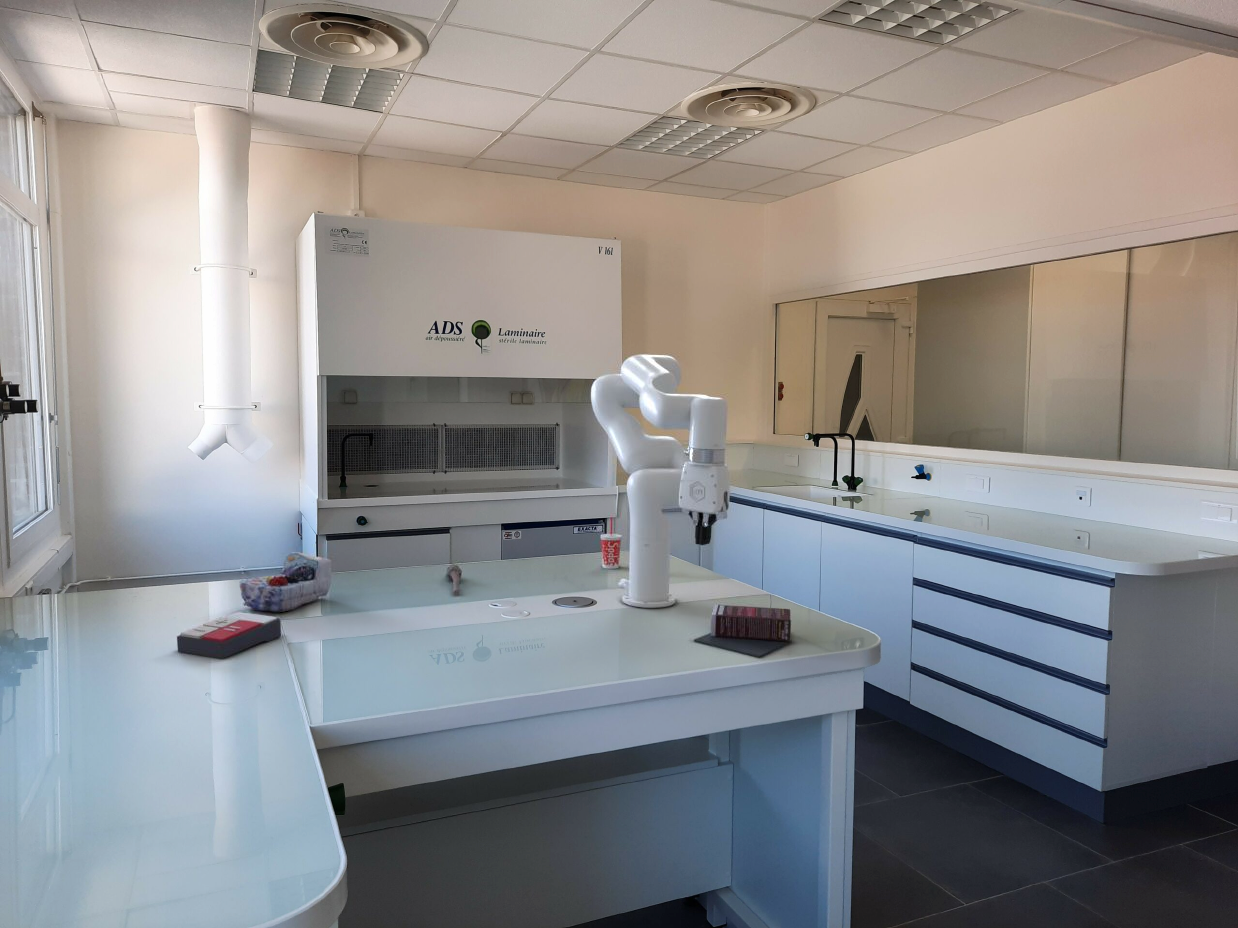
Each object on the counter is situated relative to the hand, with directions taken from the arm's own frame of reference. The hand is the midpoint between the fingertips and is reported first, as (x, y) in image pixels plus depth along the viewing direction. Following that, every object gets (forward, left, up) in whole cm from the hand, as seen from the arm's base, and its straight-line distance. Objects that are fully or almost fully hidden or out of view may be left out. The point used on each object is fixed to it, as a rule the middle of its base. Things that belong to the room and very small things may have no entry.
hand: (702, 543), depth 175 cm
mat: (+12, -2, -18) cm, 22 cm away
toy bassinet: (-79, -49, -18) cm, 95 cm away
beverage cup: (-52, +33, -18) cm, 65 cm away
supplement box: (+3, -1, -16) cm, 16 cm away
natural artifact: (-67, -11, -18) cm, 71 cm away
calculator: (-60, -71, -18) cm, 95 cm away
